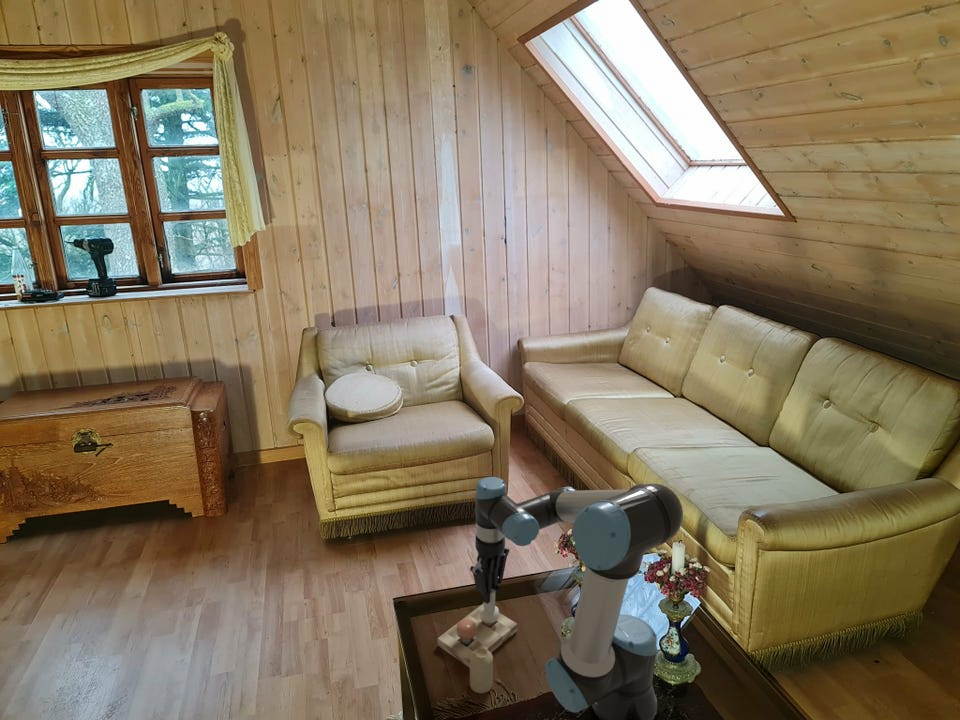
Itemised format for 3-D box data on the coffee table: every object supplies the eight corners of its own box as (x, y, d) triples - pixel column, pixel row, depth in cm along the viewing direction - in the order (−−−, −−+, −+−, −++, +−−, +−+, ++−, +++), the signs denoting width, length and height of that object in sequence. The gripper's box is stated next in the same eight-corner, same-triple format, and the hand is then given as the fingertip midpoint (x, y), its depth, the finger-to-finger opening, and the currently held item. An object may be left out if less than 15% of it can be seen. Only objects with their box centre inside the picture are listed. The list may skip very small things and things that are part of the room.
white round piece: (502, 624, 191) (502, 610, 189) (490, 634, 188) (490, 619, 186) (488, 615, 194) (488, 601, 193) (476, 625, 191) (476, 610, 189)
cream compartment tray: (517, 630, 191) (517, 623, 190) (471, 669, 178) (471, 661, 178) (483, 610, 198) (483, 603, 198) (437, 645, 186) (437, 638, 185)
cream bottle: (490, 695, 171) (490, 663, 167) (467, 691, 172) (467, 659, 168) (494, 677, 176) (494, 646, 172) (472, 674, 177) (472, 642, 173)
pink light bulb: (480, 640, 185) (480, 625, 183) (466, 651, 181) (466, 636, 179) (465, 631, 188) (465, 616, 186) (452, 641, 184) (452, 626, 183)
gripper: (495, 518, 187) (494, 591, 196) (461, 540, 178) (462, 615, 187) (518, 529, 183) (515, 603, 191) (484, 553, 174) (483, 629, 182)
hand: (489, 609), depth 189 cm, fingers closed
